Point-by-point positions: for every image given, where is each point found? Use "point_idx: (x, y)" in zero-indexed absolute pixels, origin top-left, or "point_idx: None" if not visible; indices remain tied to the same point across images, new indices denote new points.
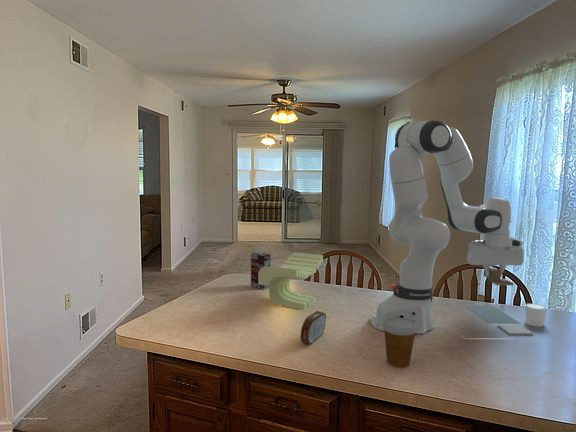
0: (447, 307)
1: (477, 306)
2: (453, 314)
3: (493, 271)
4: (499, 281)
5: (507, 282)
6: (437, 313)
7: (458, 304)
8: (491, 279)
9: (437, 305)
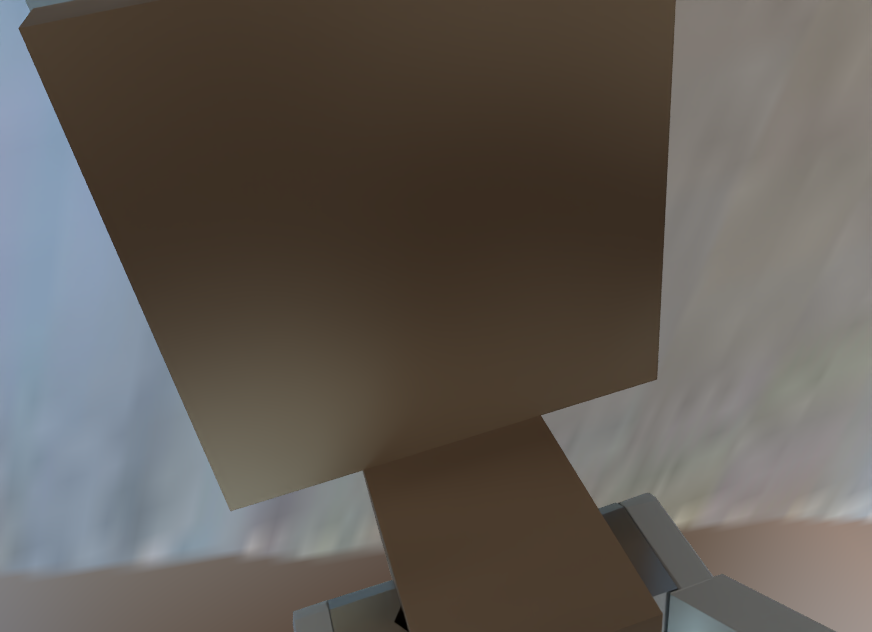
0: (689, 304)
1: None
2: (726, 100)
3: (638, 600)
4: (493, 165)
5: (246, 100)
6: (866, 91)
7: (554, 419)
8: (625, 335)
9: (751, 331)
